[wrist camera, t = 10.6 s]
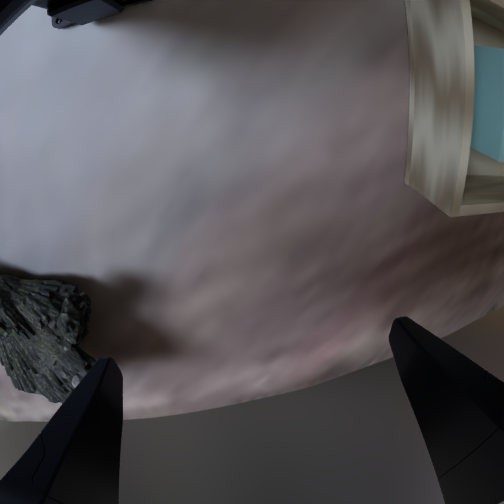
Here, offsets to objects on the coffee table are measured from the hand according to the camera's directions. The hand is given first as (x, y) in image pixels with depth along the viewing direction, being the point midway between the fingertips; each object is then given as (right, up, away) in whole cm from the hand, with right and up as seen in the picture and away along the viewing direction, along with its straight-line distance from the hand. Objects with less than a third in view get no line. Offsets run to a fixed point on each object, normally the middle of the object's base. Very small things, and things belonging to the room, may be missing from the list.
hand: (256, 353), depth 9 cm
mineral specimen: (-17, -1, +13) cm, 22 cm away
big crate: (+17, +15, +7) cm, 24 cm away
